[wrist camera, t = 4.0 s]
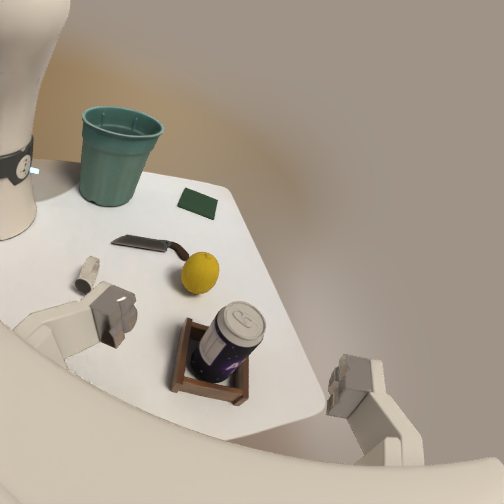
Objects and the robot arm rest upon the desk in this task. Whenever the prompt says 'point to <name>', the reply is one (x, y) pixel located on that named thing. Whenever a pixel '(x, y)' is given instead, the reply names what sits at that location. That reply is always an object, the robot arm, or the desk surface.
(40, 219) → the desk surface
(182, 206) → the mat
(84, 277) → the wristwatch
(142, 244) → the knife
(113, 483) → the robot arm
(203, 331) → the crate
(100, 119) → the flower pot
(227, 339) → the beverage can
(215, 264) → the lemon
